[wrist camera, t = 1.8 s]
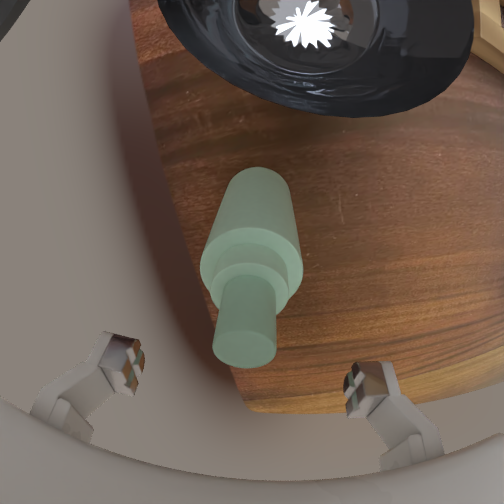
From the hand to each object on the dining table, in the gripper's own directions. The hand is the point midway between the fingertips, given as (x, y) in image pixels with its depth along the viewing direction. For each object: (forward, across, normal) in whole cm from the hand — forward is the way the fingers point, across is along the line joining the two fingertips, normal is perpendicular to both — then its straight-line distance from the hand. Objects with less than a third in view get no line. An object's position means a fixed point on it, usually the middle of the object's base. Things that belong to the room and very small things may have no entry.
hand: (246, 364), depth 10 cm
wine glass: (+15, -1, -12) cm, 20 cm away
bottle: (+15, 0, 0) cm, 15 cm away
